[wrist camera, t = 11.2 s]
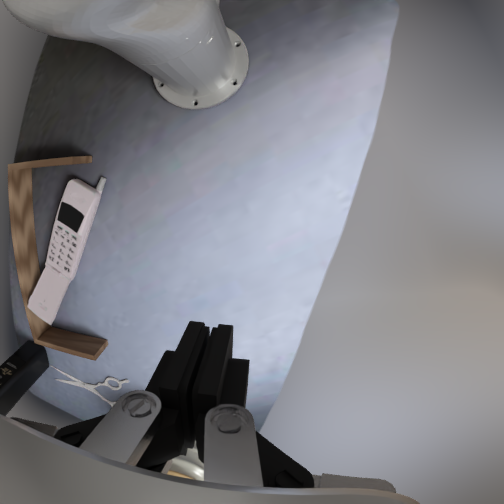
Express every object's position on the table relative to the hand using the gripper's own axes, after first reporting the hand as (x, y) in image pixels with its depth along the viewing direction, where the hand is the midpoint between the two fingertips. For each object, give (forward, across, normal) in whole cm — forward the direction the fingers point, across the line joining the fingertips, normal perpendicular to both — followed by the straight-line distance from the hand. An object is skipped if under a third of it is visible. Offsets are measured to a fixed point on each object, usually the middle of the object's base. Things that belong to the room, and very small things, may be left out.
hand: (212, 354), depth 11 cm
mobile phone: (+30, +28, +6) cm, 41 cm away
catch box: (+29, +30, +8) cm, 43 cm away
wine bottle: (+29, +43, +30) cm, 60 cm away
